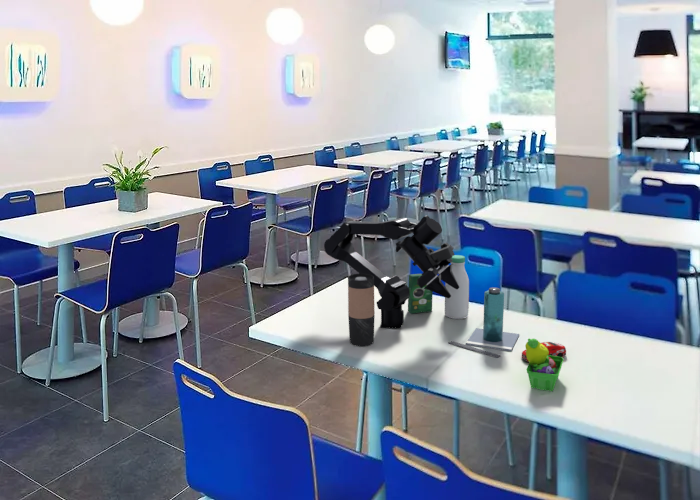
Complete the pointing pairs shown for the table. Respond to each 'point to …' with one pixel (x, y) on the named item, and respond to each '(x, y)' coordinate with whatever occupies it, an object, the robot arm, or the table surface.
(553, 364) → the fruit basket
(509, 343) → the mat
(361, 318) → the travel mug
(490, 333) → the bottle
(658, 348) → the table surface
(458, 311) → the milk bottle
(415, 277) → the coffee box
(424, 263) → the robot arm
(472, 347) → the line
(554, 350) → the race car
